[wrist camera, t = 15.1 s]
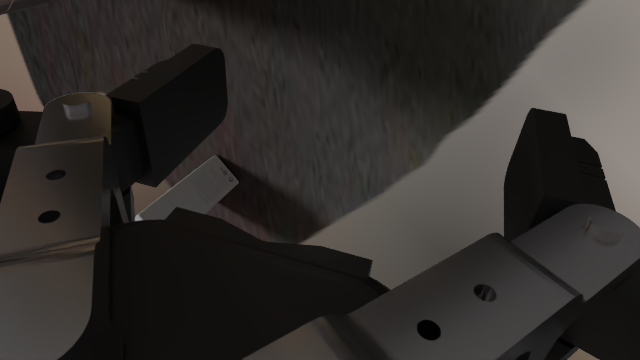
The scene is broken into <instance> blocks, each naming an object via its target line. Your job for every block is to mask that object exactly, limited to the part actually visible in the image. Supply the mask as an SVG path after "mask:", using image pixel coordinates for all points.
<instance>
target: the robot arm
mask: <svg viewBox="0 0 640 360" xmlns="http://www.w3.org/2000/svg"><path fill="white" fill-rule="evenodd" d="M54 1H58V0H0V15H2V14H6V13H10V12H14V11H18V10H22V9H26V8H30V7H34V6H38V5H42V4H46V3H50V2H54ZM227 106H228V99H227V85H226V70H225V58H224V54H223V52H222V50H221V49H219V48H214V47H209V46H203V45H198V44H192V45H190V46H189V47H187V48H185V49H184V50H182V51H181V52H179V53H178V54H176V55H174V56H173V57H171V58H170V59H168V60H165V61H162V62H158V63H156V64H154V65H153V66H151V67H150V68H148V69H146V70H145V71H144V73H140V74H139V75H137V76H135V77H134V79H131V80H129V81H127V82H126V83H124V84H123V85H121V86H119V87H118V88H116V89H115V90H113V91H112V92H110V93H108V94H107V95H102V94H98V93H91V92H83V93H73V94H68V95H65V96H61V97H59V98H56V99H54V100H52V101H51V102H49V103H48V104H47V105H46V106H45V107H44V109H43V112H33V111H18V109H17V106H16V104H15V101H14V98H13V96H12V94H11V93H10V92H9V91H6V90H3V89H0V360H567V359H568V358H569V357H570V356H572V355H573V353H575V352H576V351H577V350H578V349H579V348H580V349H582V350H583V351H585V352H587V353H589V354H591V355H592V356H594V357H596V358H598V359H600V360H640V228H639V227H638V226H637V225H636V224H635V223H634V222H632V221H631V220H630V219H628V218H626V217H625V216H623V215H622V214H620V213H618V212H616V210H615V207H614V204H613V201H612V197H611V194H610V191H609V188H608V184H607V181H606V180H605V176H604V172H603V169H601V167H602V165H601V162H600V159H599V156H598V153H597V152H596V151H595V150H594V149H593V147H591V145H590V144H588V142H587V141H586V140H585V139H581V138H576V137H571V134H570V129H569V125H568V121H567V116H566V114H562V113H556V112H552V111H545V110H541V109H536V108H532V109H531V110H530V111H529V113H528V115H527V117H526V120H525V122H524V125H523V128H522V130H521V133H520V136H519V138H518V141H517V144H516V146H515V149H514V151H513V154H512V157H511V159H510V162H509V165H508V168H507V172H506V176H505V182H504V237H503V236H502V235H501V234H499V233H491V234H489V235H487V236H485V237H483V238H481V239H480V240H478V241H476V242H475V243H473V244H471V245H469V246H467V247H466V248H464V249H462V250H460V251H459V252H457V253H455V254H453V255H452V256H450V257H448V258H446V259H445V260H443V261H441V262H439V263H438V264H436V265H434V266H432V267H431V268H429V269H427V270H425V271H424V272H422V273H420V274H418V275H417V276H415V277H413V278H411V279H410V280H408V281H406V282H404V283H403V284H401V285H399V286H397V287H396V288H394V289H392V290H390V289H389V288H387V287H386V286H384V285H383V284H381V283H380V282H378V281H377V280H375V279H373V278H371V277H370V271H371V266H372V260H370V259H366V258H362V257H359V256H355V255H351V254H348V253H344V252H340V251H337V250H333V249H329V248H326V247H322V246H313V245H300V244H287V243H274V242H266V241H262V240H260V239H258V238H256V237H254V236H252V235H251V234H249V233H247V232H245V231H243V230H241V229H239V228H237V227H236V226H234V225H232V224H230V223H228V222H226V221H224V220H222V219H220V218H216V217H213V216H209V215H205V214H202V213H198V212H194V211H191V210H187V209H183V208H180V207H176V208H175V209H174V210H173V211H172V212H171V213H170V214H169V215H168V216H167V218H166V219H165V220H162V219H157V220H140V221H135V213H134V196H133V191H132V187H131V185H133V184H134V183H135V182H137V183H140V184H144V185H148V186H152V187H157V186H158V185H159V184H160V183H161V182H162V181H163V180H164V179H165V178H166V177H167V176H168V175H169V174H170V173H171V172H172V171H173V170H174V169H175V168H176V167H177V166H178V165H179V164H180V163H181V162H182V161H183V160H184V159H185V158H186V157H187V156H188V155H189V154H190V153H191V152H192V151H193V150H194V149H195V148H196V147H197V146H198V145H199V144H200V143H201V142H202V141H203V140H204V139H206V138H207V137H208V136H209V135H210V134H211V133H212V132H213V131H214V130H215V129H216V128H217V127H218V126H219V125H220V124H221V123H222V121H223V120H224V118H225V115H226V112H227Z"/></svg>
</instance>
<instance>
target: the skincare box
mask: <svg viewBox="0 0 640 360" xmlns="http://www.w3.org/2000/svg"><path fill="white" fill-rule="evenodd" d="M238 183H239V181H238V180H237V179H236V178H235V176H234V175H233V174H232V173H231V172H230V171H229V169H228V168H227V167H226V166H225V165H224V164H223V162H222V161H221V160H220V159H219V158H218V156H216V155H214V156H212V157H211V158H210V159H209V160H207V161H206V162H205V163H203V164H202V165H201V166H200V167H198V168H197V169H196V170H194V171H193V172H192V173H190V174H189V175H188V176H186V177H185V178H184V179H183V180H181V181H180V182H179V183H177V184H176V185H175V186H174V187H172V188H171V189H170V190H168V191H167V192H166V193H165V194H163V195H162V196H161V197H159V198H158V199H157V200H156V201H154V202H153V203H152V204H150V205H149V206H148V207H147V208H145V209H144V210H143V211H142V212H140V213H139V214H138V215H137V216H135V221H140V220H157V219H162V220H165V219H166V218H167V216H168V215H169V214H170V213H171V212H172V211H173V210H174V209H175V208H176V207H180V208H183V209H187V210H191V211H194V212H198V213H202V214H205V213H207V212H208V211H209V210H210V209H211V208H212V207H213V206H214V205H215V204H216V203H218V202H219V201H220V200H221V199H222V198H223V197H224V196H225V195H226V194H227V193H229V192H230V191H231V190H232V189H233V188H234V187H235V186H236V185H237V184H238Z"/></svg>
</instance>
